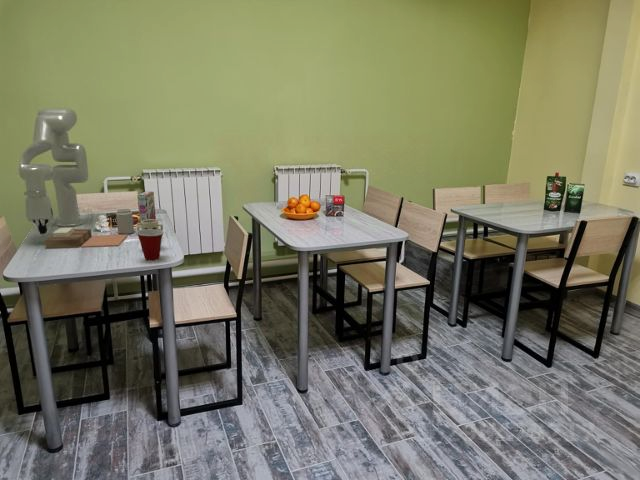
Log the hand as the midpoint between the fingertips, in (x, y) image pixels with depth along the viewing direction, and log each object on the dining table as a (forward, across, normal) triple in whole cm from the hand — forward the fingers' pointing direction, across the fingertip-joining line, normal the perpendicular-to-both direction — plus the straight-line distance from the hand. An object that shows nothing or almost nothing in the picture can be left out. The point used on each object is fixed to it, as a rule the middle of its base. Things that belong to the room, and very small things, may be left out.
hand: (43, 233), depth 221 cm
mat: (+5, +27, 0) cm, 27 cm away
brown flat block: (+5, +11, 0) cm, 12 cm away
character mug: (+5, +51, -15) cm, 53 cm away
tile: (0, +9, 0) cm, 9 cm away
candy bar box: (+5, +40, +35) cm, 53 cm away
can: (+5, +33, +14) cm, 36 cm away
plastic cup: (+5, +54, -29) cm, 61 cm away
